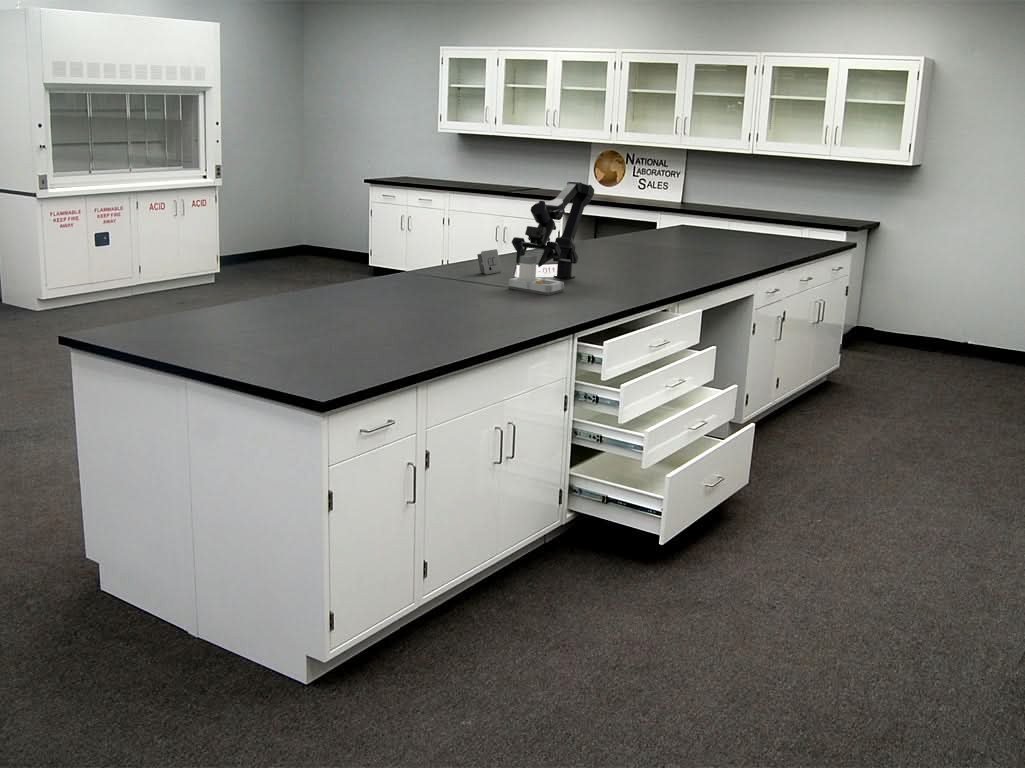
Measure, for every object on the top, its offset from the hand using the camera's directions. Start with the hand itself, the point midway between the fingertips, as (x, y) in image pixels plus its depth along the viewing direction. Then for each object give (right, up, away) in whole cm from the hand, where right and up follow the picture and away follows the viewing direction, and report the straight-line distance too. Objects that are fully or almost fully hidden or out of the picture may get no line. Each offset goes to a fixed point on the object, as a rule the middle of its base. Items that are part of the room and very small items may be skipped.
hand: (527, 264), depth 374 cm
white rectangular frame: (+3, -9, +1) cm, 10 cm away
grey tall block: (0, -8, +2) cm, 8 cm away
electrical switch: (-15, 0, +31) cm, 34 cm away
